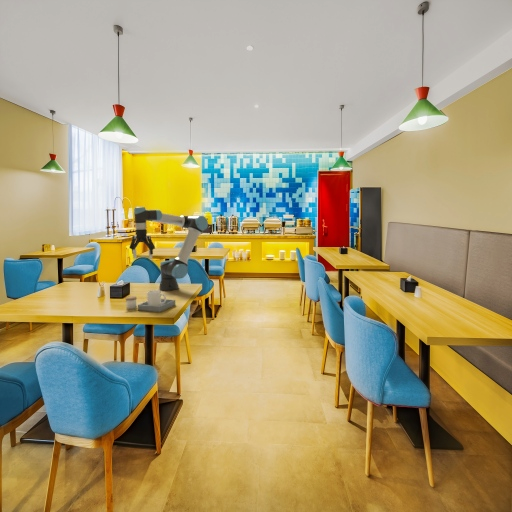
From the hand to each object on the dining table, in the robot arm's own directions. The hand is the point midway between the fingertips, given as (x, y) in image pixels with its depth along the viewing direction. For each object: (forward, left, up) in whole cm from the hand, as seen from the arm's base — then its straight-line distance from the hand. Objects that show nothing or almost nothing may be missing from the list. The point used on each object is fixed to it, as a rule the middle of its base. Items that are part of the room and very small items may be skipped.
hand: (142, 258), depth 229 cm
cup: (+19, +24, -28) cm, 42 cm away
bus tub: (+19, +24, -29) cm, 42 cm away
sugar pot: (+24, +8, -29) cm, 38 cm away
